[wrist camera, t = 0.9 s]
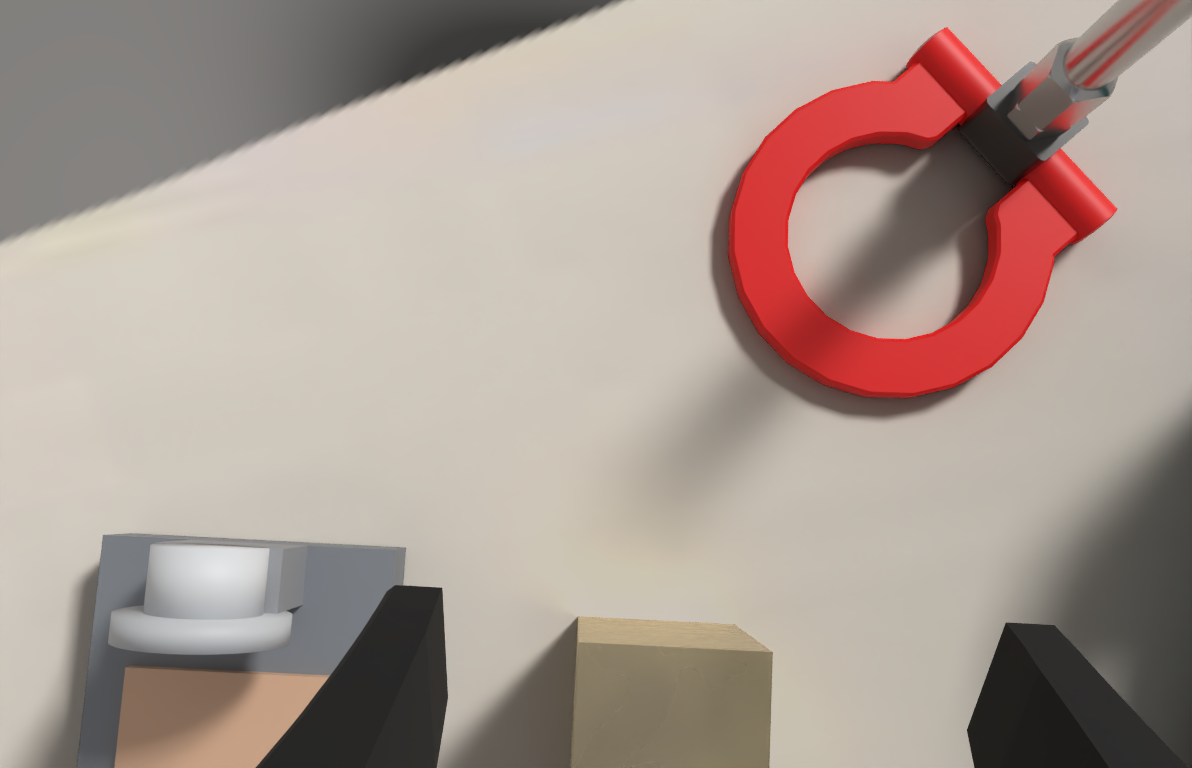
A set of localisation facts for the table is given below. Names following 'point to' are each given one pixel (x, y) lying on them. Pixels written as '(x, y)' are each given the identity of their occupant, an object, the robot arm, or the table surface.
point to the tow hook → (1015, 223)
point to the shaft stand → (218, 643)
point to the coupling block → (670, 695)
